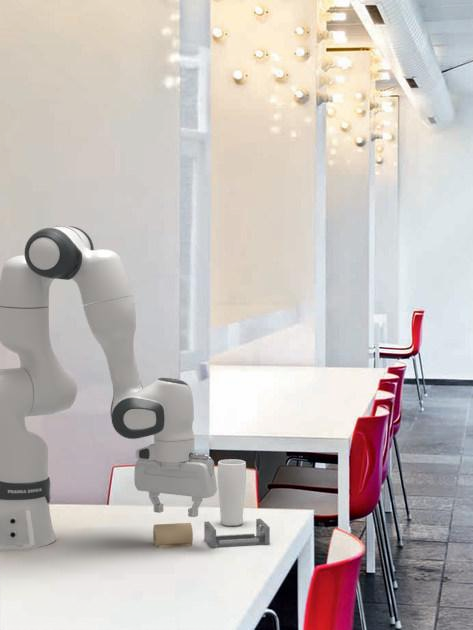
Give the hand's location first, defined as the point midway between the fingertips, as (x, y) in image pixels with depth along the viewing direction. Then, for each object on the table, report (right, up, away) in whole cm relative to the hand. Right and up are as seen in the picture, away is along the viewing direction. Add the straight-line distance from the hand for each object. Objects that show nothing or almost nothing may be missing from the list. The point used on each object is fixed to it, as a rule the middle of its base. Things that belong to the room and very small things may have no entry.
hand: (175, 514), depth 244 cm
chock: (-1, -7, +1) cm, 7 cm away
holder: (+13, -7, +2) cm, 15 cm away
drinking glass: (+12, -6, +20) cm, 25 cm away
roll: (-1, -5, +1) cm, 5 cm away
